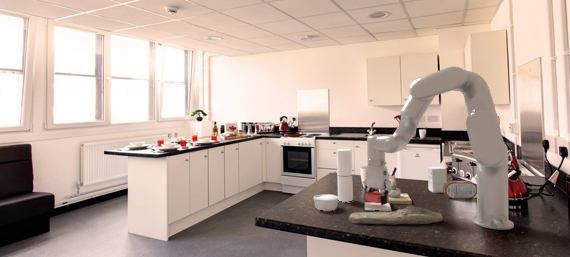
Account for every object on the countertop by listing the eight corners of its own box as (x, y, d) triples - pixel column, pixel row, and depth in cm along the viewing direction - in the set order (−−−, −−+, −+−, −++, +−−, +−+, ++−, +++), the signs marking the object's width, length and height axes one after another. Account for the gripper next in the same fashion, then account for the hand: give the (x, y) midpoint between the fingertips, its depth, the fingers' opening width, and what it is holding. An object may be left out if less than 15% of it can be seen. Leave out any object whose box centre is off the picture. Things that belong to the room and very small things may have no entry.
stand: (411, 204, 143) (411, 184, 143) (379, 203, 146) (379, 184, 146) (407, 196, 157) (406, 178, 157) (378, 195, 160) (377, 178, 160)
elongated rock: (347, 221, 128) (351, 231, 118) (346, 208, 127) (350, 217, 118) (436, 215, 125) (447, 225, 115) (435, 202, 125) (446, 211, 115)
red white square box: (388, 200, 139) (388, 194, 139) (377, 203, 136) (377, 196, 135) (376, 197, 145) (376, 191, 145) (365, 200, 142) (365, 193, 141)
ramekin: (320, 203, 149) (319, 193, 149) (342, 206, 143) (342, 195, 143) (309, 210, 139) (309, 198, 139) (333, 213, 134) (332, 201, 133)
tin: (475, 197, 151) (475, 180, 151) (478, 199, 148) (478, 181, 148) (442, 197, 153) (442, 180, 152) (445, 199, 150) (445, 181, 149)
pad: (391, 211, 134) (391, 210, 134) (365, 210, 136) (364, 209, 136) (389, 204, 145) (389, 203, 145) (364, 203, 147) (364, 202, 147)
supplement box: (442, 189, 169) (442, 166, 168) (447, 192, 161) (447, 168, 161) (428, 189, 170) (427, 166, 169) (432, 192, 162) (432, 168, 162)
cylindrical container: (337, 202, 150) (336, 150, 150) (338, 198, 157) (337, 149, 157) (352, 202, 149) (351, 150, 148) (353, 198, 156) (351, 148, 155)
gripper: (398, 164, 134) (398, 205, 135) (367, 160, 149) (368, 197, 150) (386, 166, 130) (386, 208, 131) (356, 161, 145) (357, 199, 146)
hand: (377, 202), depth 140 cm, fingers closed on red white square box, 7 cm apart
